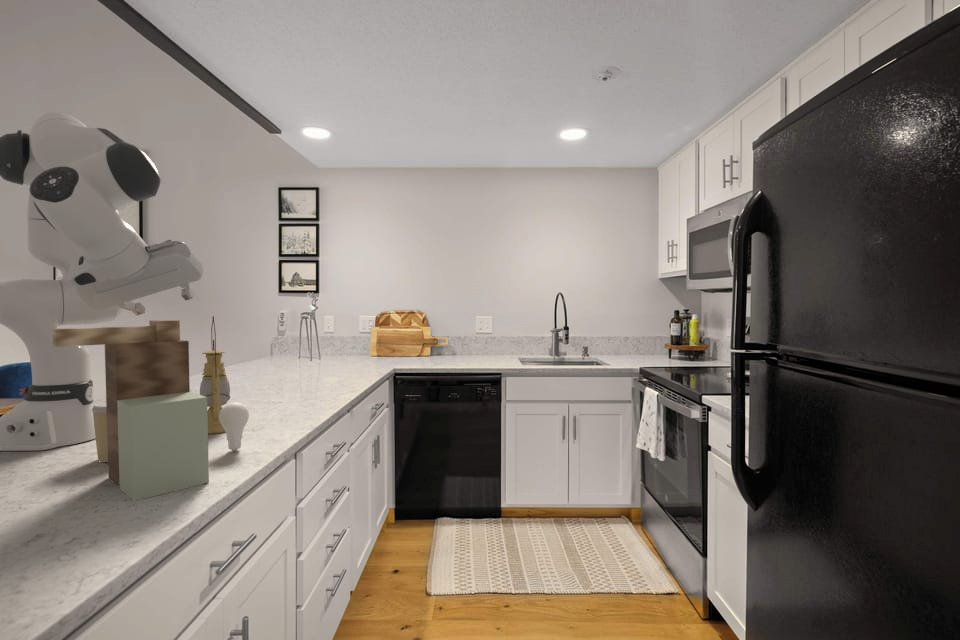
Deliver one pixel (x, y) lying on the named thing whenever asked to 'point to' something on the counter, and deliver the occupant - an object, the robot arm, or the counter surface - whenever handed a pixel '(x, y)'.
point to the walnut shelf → (141, 381)
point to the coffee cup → (101, 430)
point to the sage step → (162, 443)
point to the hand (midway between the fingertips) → (165, 304)
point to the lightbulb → (234, 423)
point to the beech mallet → (118, 334)
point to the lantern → (214, 387)
